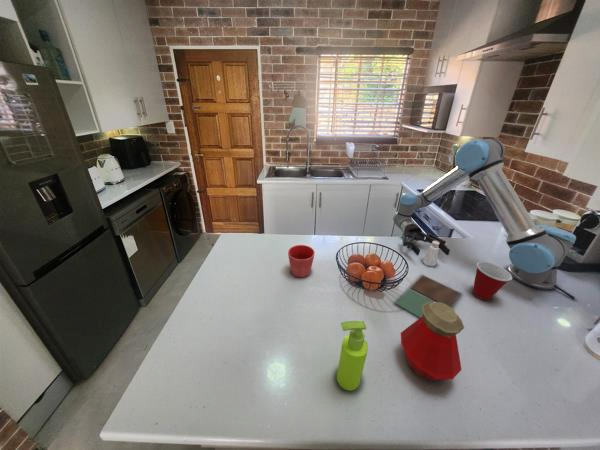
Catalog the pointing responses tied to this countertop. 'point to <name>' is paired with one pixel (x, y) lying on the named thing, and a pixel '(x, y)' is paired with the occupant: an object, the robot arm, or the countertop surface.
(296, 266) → the flower pot
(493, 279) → the plastic cup
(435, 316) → the bottle
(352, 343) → the soap dispenser
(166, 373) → the countertop surface
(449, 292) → the walnut pad
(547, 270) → the robot arm
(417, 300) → the sage mat
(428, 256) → the pepper shaker
